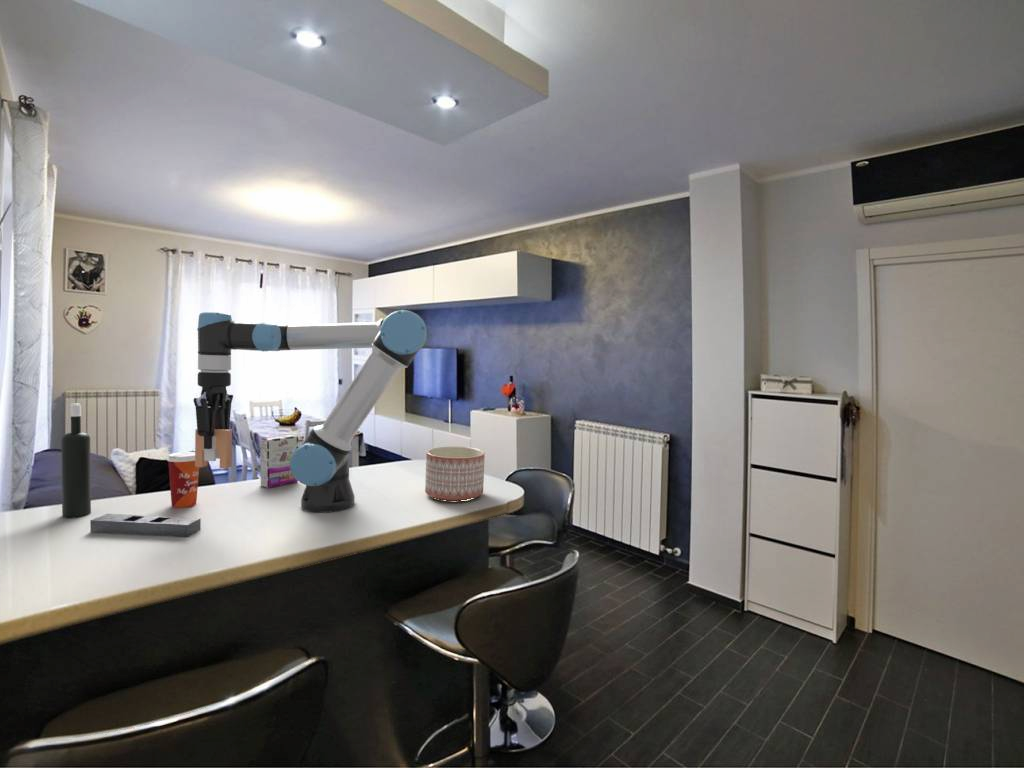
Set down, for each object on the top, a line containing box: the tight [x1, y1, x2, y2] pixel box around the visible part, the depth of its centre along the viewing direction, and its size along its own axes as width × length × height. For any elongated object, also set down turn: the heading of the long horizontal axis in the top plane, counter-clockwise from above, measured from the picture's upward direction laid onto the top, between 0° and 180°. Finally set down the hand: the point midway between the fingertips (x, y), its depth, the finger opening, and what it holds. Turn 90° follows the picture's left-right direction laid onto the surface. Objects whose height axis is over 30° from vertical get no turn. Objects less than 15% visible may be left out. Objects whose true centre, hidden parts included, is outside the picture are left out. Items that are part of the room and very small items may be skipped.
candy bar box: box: [259, 434, 299, 489], centre depth 170 cm, size 11×5×16 cm, turn 147°
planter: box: [424, 445, 486, 501], centre depth 164 cm, size 19×19×15 cm
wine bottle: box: [60, 402, 92, 519], centre depth 132 cm, size 6×6×30 cm
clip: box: [194, 428, 233, 469], centre depth 132 cm, size 8×2×10 cm, turn 89°
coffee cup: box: [166, 451, 200, 509], centre depth 144 cm, size 8×8×15 cm
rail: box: [90, 513, 202, 538], centre depth 123 cm, size 24×5×3 cm, turn 89°
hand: (213, 459), depth 132 cm, fingers closed on clip, 2 cm apart
